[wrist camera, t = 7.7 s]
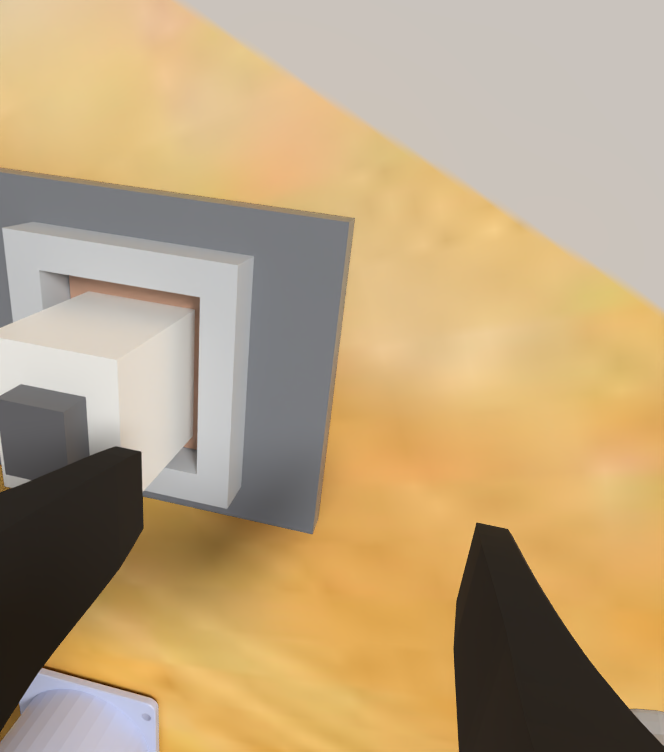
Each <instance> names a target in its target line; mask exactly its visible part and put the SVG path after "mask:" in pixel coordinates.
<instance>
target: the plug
mask: <svg viewBox="0 0 664 752" xmlns="http://www.w3.org/2000/svg"><path fill="white" fill-rule="evenodd" d="M194 337H195V309H189V308H183V307H177V306H171V305H166V304H160V303H154V302H148V301H142V300H137V299H131V298H125V297H119V296H113V295H108V294H102V293H96V292H90V291H88V292H86V293H83V294H81V295H78V296H76V297H73V298H71V299H69V300H66V301H64V302H61V303H59V304H57V305H54V306H52V307H49V308H47V309H45V310H42V311H40V312H37V313H35V314H32V315H30V316H28V317H25V318H23V319H20V320H18V321H16V322H13V323H11V324H8V325H6V326H4V327H1V328H0V457H1V464H2V472H3V479H4V486H6V487H10V488H13V487H16V486H19V485H21V484H24V483H26V482H29V481H31V480H33V479H36V478H38V477H41V476H43V475H45V474H48V473H50V472H52V471H55V470H57V469H60V468H62V467H64V466H67V465H69V464H71V463H74V462H76V461H78V460H81V459H83V458H86V457H88V456H90V455H93V454H95V453H98V452H100V451H103V450H106V449H109V448H112V447H115V446H118V447H122V448H127V449H132V450H136V451H141V452H142V491H144V490H145V489H146V488H147V487H148V486H149V485H150V483H151V482H152V481H153V480H154V479H155V478H156V477H157V476H158V474H159V473H160V472H161V471H162V470H163V469H164V468H165V467H166V466H167V464H168V463H169V462H170V461H171V460H172V459H173V458H174V457H175V455H176V454H177V453H178V452H179V451H180V450H181V449H182V448H183V447H184V445H185V444H186V443H187V442H188V441H189V440H190V439H191V438H192V436H193V402H194Z"/></svg>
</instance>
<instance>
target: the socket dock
mask: <svg viewBox="0 0 664 752" xmlns="http://www.w3.org/2000/svg"><path fill="white" fill-rule="evenodd" d="M354 221H355V218H350V217H343V216H336V215H329V214H322V213H315V212H308V211H301V210H294V209H286V208H279V207H272V206H265V205H258V204H251V203H244V202H237V201H230V200H223V199H216V198H209V197H202V196H195V195H188V194H181V193H174V192H167V191H160V190H153V189H146V188H139V187H132V186H125V185H118V184H111V183H104V182H97V181H90V180H83V179H76V178H69V177H62V176H55V175H48V174H41V173H34V172H27V171H20V170H12V169H5V168H0V328H1V327H4V326H6V325H8V324H11V323H13V322H16V321H18V320H20V319H23V318H25V317H28V316H30V315H32V314H35V313H37V312H40V311H42V310H45V309H47V308H49V307H52V306H54V305H57V304H59V303H61V302H64V301H66V300H69V299H71V298H73V297H76V296H78V295H81V294H83V293H86V292H88V291H90V292H96V293H102V294H108V295H113V296H119V297H125V298H131V299H137V300H142V301H148V302H154V303H160V304H166V305H171V306H177V307H183V308H189V309H195V337H194V402H193V436H192V438H191V439H190V440H189V441H188V442H187V443H186V444H185V445H184V447H183V448H182V449H181V450H180V451H179V452H178V453H177V454H176V455H175V457H174V458H173V459H172V460H171V461H170V462H169V463H168V464H167V466H166V467H165V468H164V469H163V470H162V471H161V472H160V473H159V474H158V476H157V477H156V478H155V479H154V480H153V481H152V482H151V483H150V485H149V486H148V487H147V488H146V489H145V490H144V491H143V496H144V497H148V498H153V499H157V500H161V501H166V502H170V503H175V504H179V505H184V506H188V507H193V508H197V509H202V510H206V511H211V512H215V513H220V514H224V515H229V516H233V517H238V518H242V519H247V520H251V521H255V522H260V523H264V524H269V525H273V526H278V527H282V528H287V529H291V530H296V531H300V532H305V533H309V534H313V532H314V529H315V526H316V523H317V521H318V516H319V508H320V500H321V492H322V483H323V475H324V467H325V459H326V451H327V442H328V434H329V426H330V418H331V410H332V401H333V393H334V385H335V377H336V368H337V360H338V352H339V344H340V336H341V327H342V319H343V311H344V303H345V295H346V286H347V278H348V270H349V262H350V253H351V245H352V237H353V229H354ZM0 465H2V464H1V457H0Z"/></svg>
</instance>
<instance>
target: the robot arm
mask: <svg viewBox="0 0 664 752" xmlns="http://www.w3.org/2000/svg"><path fill="white" fill-rule="evenodd" d="M142 530H143V491H142V452H141V451H136V450H132V449H127V448H122V447H118V446H115V447H112V448H109V449H106V450H103V451H100V452H98V453H95V454H93V455H90V456H88V457H86V458H83V459H81V460H78V461H76V462H74V463H71V464H69V465H67V466H64V467H62V468H60V469H57V470H55V471H52V472H50V473H48V474H45V475H43V476H41V477H38V478H36V479H33V480H31V481H29V482H26V483H24V484H21V485H19V486H16V487H13V488H11V489H8V490H6V491H3V492H0V732H1V730H2V728H3V727H4V725H5V724H6V722H7V720H8V719H9V717H10V716H11V714H12V713H13V711H14V709H15V708H16V706H17V705H18V703H19V705H20V712H21V716H20V717H19V718H18V720H17V721H16V722H15V724H14V725H13V726H12V728H11V729H10V730H9V731H8V733H7V734H6V735H5V737H4V738H3V739H2V741H1V742H0V752H159V710H158V704H157V702H156V701H155V700H154V699H152V698H150V697H146V696H142V695H139V694H135V693H131V692H128V691H124V690H121V689H117V688H113V687H110V686H106V685H102V684H99V683H95V682H92V681H88V680H84V679H81V678H77V677H74V676H70V675H66V674H63V673H59V672H55V671H52V670H48V669H45V668H42V667H43V666H44V664H45V663H46V662H47V660H48V659H49V658H50V656H51V655H52V654H53V652H54V651H55V650H56V649H57V647H58V646H59V645H60V643H61V642H62V641H63V640H64V638H65V637H66V636H67V635H68V633H69V632H70V631H71V630H72V628H73V627H74V626H75V625H76V623H77V622H78V621H79V620H80V618H81V617H82V616H83V615H84V613H85V612H86V611H87V610H88V608H89V607H90V606H91V604H92V603H93V602H94V601H95V599H96V598H97V597H98V596H99V594H100V593H101V592H102V591H103V589H104V588H105V587H106V585H107V584H108V583H109V582H110V580H111V579H112V578H113V576H114V575H115V574H116V572H117V571H118V570H119V568H120V567H121V565H122V564H123V562H124V561H125V559H126V557H127V556H128V554H129V552H130V551H131V549H132V547H133V546H134V544H135V542H136V540H137V539H138V537H139V535H140V533H141V532H142ZM454 667H455V687H456V705H457V723H458V741H459V752H664V746H663V745H662V744H661V743H660V741H659V740H658V739H657V738H656V737H655V736H654V735H653V734H652V733H651V732H650V731H649V730H648V729H647V728H646V727H645V726H644V725H643V724H642V722H641V721H640V720H639V719H638V718H637V717H636V716H635V715H634V714H633V712H632V711H631V710H630V709H629V708H628V707H627V706H626V705H625V703H624V702H623V701H622V700H621V699H620V697H619V696H618V695H617V694H616V693H615V691H614V690H613V689H612V688H611V687H610V685H609V684H608V683H607V682H606V681H605V679H604V678H603V677H602V676H601V674H600V673H599V672H598V671H597V670H596V668H595V667H594V666H593V664H592V663H591V662H590V660H589V659H588V658H587V656H586V655H585V654H584V652H583V651H582V649H581V648H580V647H579V645H578V644H577V642H576V641H575V639H574V638H573V637H572V635H571V634H570V632H569V631H568V629H567V628H566V626H565V625H564V623H563V622H562V620H561V619H560V617H559V616H558V614H557V613H556V611H555V609H554V608H553V606H552V605H551V603H550V601H549V600H548V598H547V597H546V595H545V593H544V592H543V590H542V588H541V587H540V585H539V583H538V582H537V580H536V578H535V577H534V575H533V573H532V571H531V569H530V568H529V566H528V564H527V562H526V561H525V559H524V557H523V555H522V553H521V551H520V549H519V548H518V546H517V544H516V542H515V540H514V538H513V536H512V535H511V533H510V532H509V530H508V529H505V528H500V527H495V526H491V525H486V524H481V523H476V527H475V531H474V535H473V539H472V543H471V547H470V551H469V554H468V558H467V562H466V566H465V570H464V574H463V578H462V582H461V586H460V590H459V593H458V597H457V603H456V617H455V633H454Z"/></svg>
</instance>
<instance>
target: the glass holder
mask: <svg viewBox="0 0 664 752" xmlns="http://www.w3.org/2000/svg"><path fill="white" fill-rule="evenodd" d="M630 710H631V711H632V712H633V714H634V715H635V716H636V717H637V718H638V719H639V720H640V721H641V722H642V724H643V725H644V726H645V727H646V728H647V729H648V730H649V731H650V732H651V733H652V734H653V735H654V736H655V737H656V738H657V739H658V740H659V741H660V743H661V744H662V745H663V746H664V712H661V711H654V710H642V709H630Z"/></svg>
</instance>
